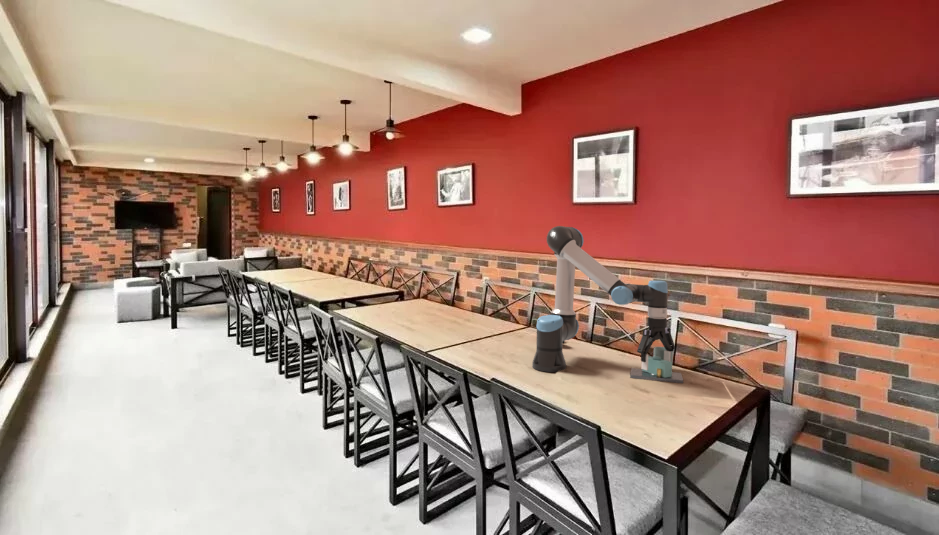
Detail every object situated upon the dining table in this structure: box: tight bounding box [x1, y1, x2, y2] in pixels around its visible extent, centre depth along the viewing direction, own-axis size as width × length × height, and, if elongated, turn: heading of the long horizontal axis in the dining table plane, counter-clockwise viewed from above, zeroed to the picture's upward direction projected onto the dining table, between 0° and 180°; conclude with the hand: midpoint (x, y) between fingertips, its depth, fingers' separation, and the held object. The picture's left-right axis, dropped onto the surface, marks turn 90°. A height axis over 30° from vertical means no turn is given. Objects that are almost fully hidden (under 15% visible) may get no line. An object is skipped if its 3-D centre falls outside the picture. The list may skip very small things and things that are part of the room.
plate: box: [629, 367, 684, 384], centre depth 190 cm, size 20×12×5 cm, turn 69°
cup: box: [652, 346, 674, 363], centre depth 199 cm, size 8×8×10 cm
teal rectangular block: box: [641, 355, 673, 378], centre depth 189 cm, size 12×4×7 cm, turn 25°
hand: (656, 367), depth 190 cm, fingers open, 13 cm apart
